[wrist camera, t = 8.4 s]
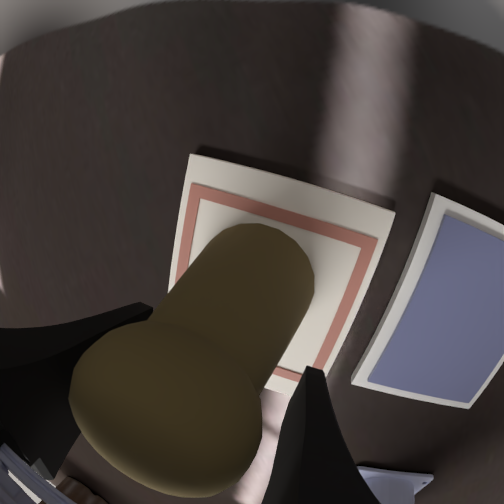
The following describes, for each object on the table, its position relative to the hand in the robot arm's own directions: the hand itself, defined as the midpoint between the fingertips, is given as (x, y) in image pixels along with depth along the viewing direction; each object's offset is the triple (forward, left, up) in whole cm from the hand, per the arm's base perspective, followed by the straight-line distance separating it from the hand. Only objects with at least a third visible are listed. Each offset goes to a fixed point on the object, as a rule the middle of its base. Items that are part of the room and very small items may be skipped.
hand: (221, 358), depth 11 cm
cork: (+1, 0, -6) cm, 6 cm away
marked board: (0, 0, -6) cm, 6 cm away
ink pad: (+2, -11, -6) cm, 13 cm away
